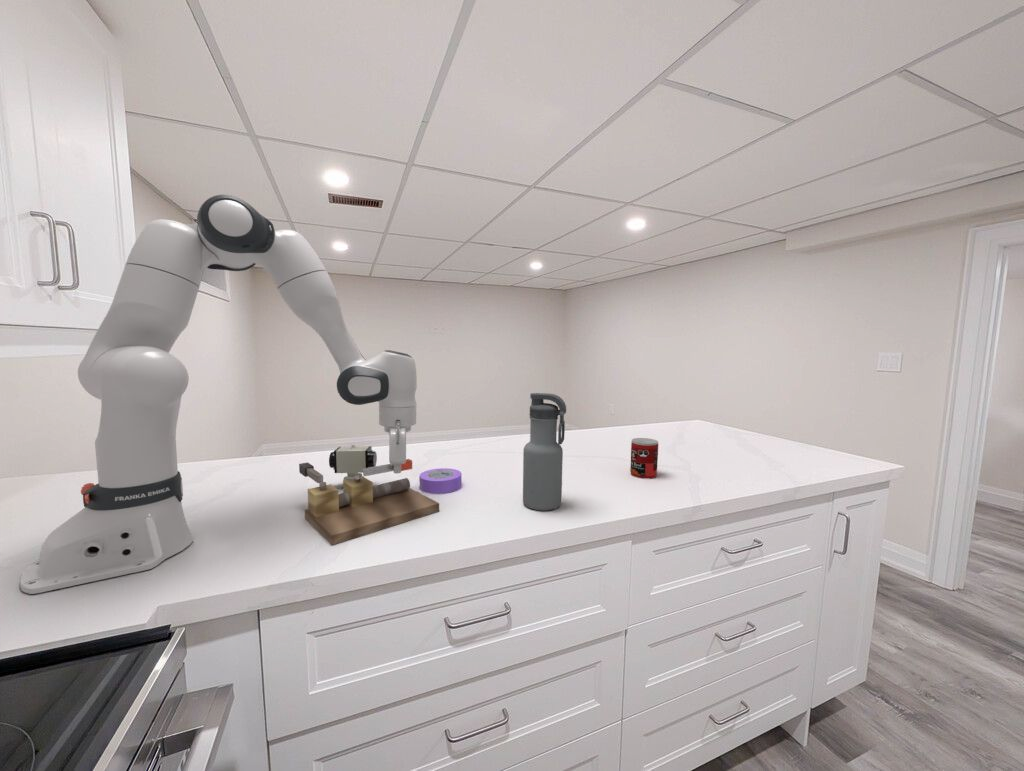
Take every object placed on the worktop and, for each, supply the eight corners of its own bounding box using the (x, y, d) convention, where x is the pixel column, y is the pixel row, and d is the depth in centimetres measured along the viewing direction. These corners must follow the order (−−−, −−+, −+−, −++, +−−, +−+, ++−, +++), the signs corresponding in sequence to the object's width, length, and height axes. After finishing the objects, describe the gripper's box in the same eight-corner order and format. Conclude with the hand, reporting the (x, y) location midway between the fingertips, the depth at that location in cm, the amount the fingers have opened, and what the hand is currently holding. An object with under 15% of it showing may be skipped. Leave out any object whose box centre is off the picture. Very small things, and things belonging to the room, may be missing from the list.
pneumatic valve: (373, 489, 113) (372, 446, 112) (329, 490, 112) (328, 447, 110) (378, 482, 118) (377, 441, 117) (336, 483, 117) (334, 442, 116)
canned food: (625, 472, 130) (626, 438, 129) (646, 470, 133) (648, 437, 132) (639, 480, 123) (641, 444, 122) (662, 477, 125) (663, 442, 124)
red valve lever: (412, 471, 105) (412, 460, 105) (356, 482, 97) (355, 470, 96) (409, 469, 107) (408, 458, 107) (353, 480, 98) (353, 468, 98)
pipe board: (332, 545, 81) (330, 495, 80) (291, 505, 101) (290, 465, 100) (439, 511, 98) (439, 470, 97) (387, 482, 118) (386, 448, 117)
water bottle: (565, 499, 107) (568, 392, 104) (559, 514, 97) (562, 397, 95) (527, 495, 110) (529, 391, 107) (518, 509, 100) (520, 395, 97)
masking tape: (412, 486, 116) (411, 473, 116) (447, 477, 124) (447, 465, 123) (433, 498, 107) (433, 483, 107) (469, 488, 115) (469, 474, 115)
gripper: (412, 424, 91) (412, 485, 93) (409, 410, 111) (409, 460, 112) (383, 425, 90) (382, 486, 91) (385, 411, 109) (385, 461, 110)
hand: (397, 472), depth 102 cm, fingers closed
